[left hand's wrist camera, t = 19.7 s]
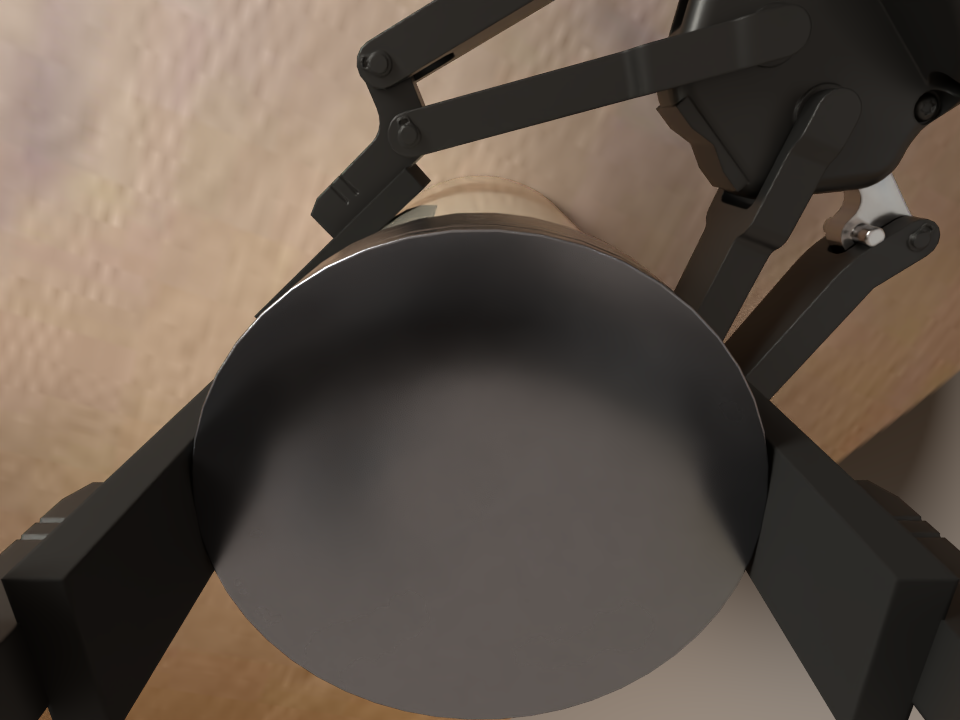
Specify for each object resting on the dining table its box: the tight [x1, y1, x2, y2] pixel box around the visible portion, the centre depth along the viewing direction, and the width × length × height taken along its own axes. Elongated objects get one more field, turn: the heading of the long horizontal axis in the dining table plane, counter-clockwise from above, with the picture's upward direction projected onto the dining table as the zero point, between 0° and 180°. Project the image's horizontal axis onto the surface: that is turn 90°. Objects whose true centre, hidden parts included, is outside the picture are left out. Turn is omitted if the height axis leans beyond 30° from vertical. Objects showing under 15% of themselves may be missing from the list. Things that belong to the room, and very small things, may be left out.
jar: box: [380, 176, 580, 231], centre depth 18 cm, size 9×9×15 cm
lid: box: [191, 212, 769, 719], centre depth 11 cm, size 10×10×2 cm
